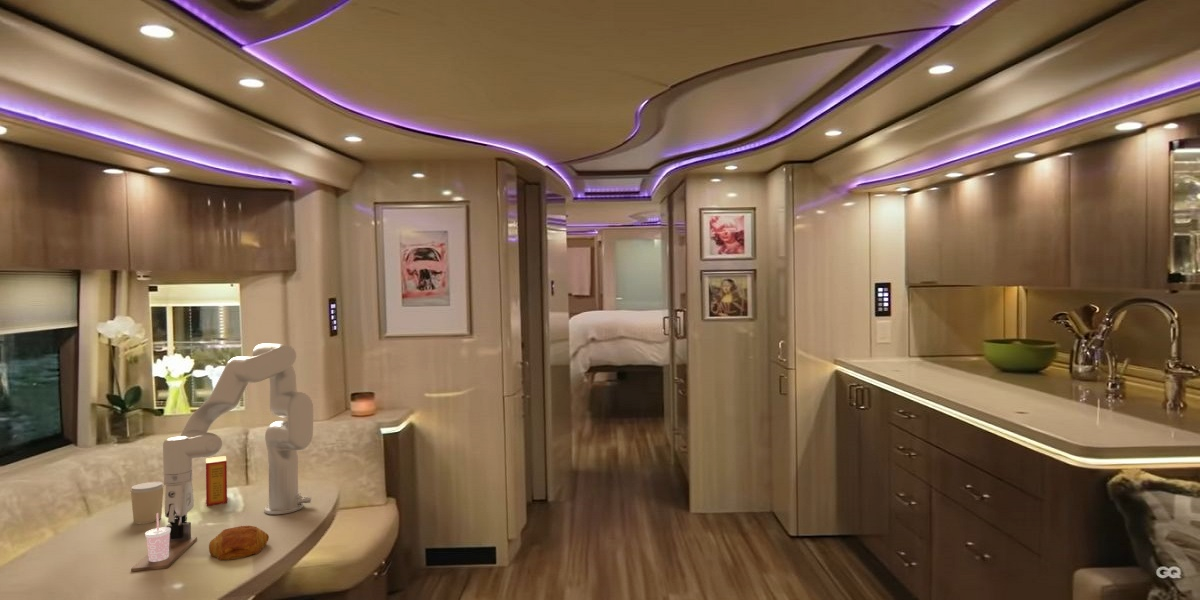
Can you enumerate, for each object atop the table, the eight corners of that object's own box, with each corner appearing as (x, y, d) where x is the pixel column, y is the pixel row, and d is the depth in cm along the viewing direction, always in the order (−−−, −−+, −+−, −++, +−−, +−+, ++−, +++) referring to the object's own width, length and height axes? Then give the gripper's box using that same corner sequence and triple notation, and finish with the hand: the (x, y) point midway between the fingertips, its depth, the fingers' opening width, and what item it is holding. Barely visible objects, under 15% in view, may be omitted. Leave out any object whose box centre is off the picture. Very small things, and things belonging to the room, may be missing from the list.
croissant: (215, 553, 197) (211, 528, 197) (271, 539, 202) (267, 514, 202) (204, 571, 183) (199, 543, 183) (265, 555, 189) (260, 528, 188)
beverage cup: (140, 565, 183) (138, 516, 183) (158, 556, 189) (156, 509, 189) (159, 566, 182) (157, 517, 182) (177, 557, 188) (175, 510, 188)
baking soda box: (206, 499, 244) (205, 457, 244) (226, 496, 247) (225, 454, 247) (206, 506, 236) (205, 462, 236) (227, 502, 239) (226, 459, 239)
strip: (196, 539, 202) (196, 521, 202) (167, 568, 181) (167, 547, 181) (164, 542, 200) (164, 523, 200) (130, 571, 179) (130, 550, 179)
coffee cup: (170, 515, 225) (170, 481, 225) (149, 525, 216) (148, 489, 216) (145, 515, 226) (145, 481, 226) (123, 524, 217) (123, 488, 217)
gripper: (181, 483, 193) (182, 545, 193) (201, 469, 209) (202, 526, 209) (152, 485, 191) (153, 547, 191) (175, 471, 207) (175, 528, 207)
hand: (178, 536), depth 200 cm, fingers closed
